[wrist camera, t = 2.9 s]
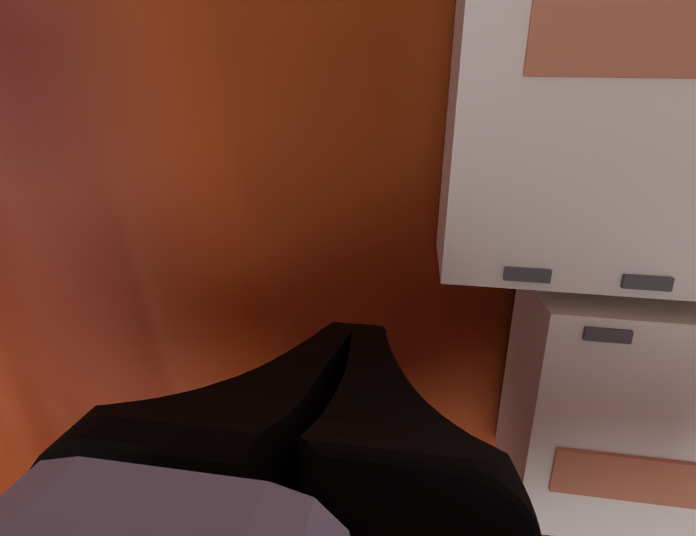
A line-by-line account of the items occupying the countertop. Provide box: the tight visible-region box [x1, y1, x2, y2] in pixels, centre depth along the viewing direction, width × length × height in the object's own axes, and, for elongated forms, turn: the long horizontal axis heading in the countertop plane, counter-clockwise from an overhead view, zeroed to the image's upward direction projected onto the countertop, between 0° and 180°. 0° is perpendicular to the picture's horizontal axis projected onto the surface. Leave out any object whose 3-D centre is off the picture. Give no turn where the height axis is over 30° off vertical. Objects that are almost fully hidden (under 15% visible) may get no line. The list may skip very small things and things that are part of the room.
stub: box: [495, 289, 696, 536], centre depth 11 cm, size 4×5×3 cm
